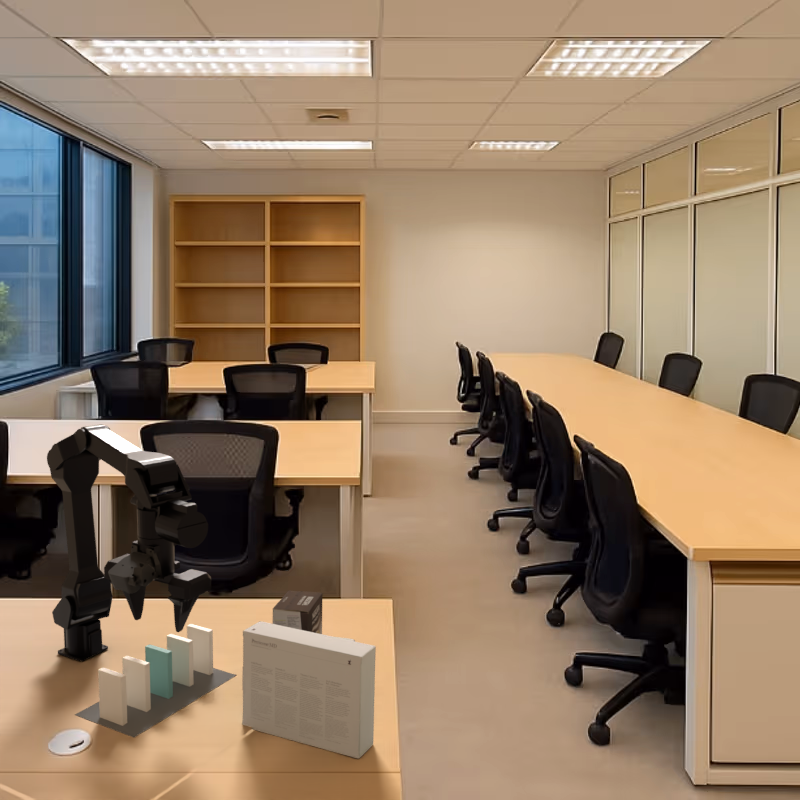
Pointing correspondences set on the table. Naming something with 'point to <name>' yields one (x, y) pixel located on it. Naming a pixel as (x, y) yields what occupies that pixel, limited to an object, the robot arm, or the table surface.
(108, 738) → the table surface
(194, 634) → the domino
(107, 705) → the domino
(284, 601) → the coffee box
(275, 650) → the skincare box
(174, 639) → the domino
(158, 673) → the teal tile
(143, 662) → the domino
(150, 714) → the mat
